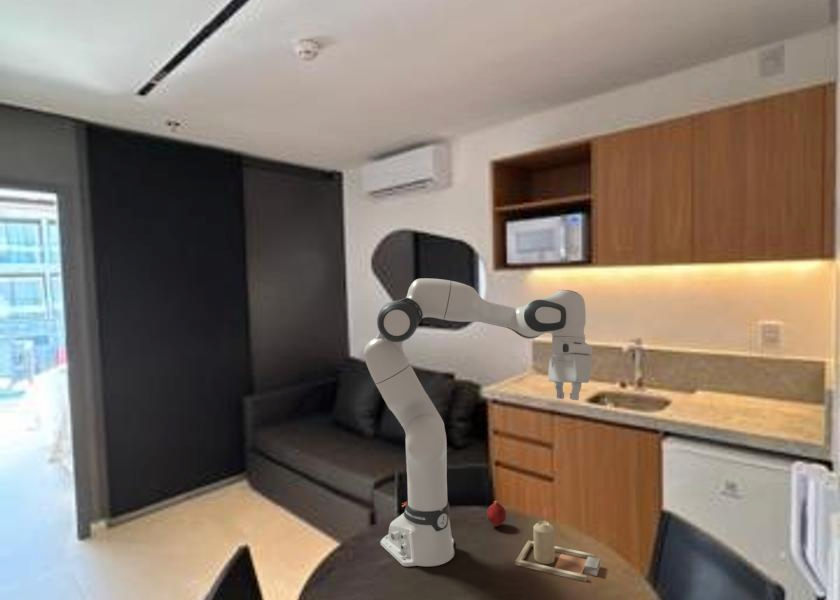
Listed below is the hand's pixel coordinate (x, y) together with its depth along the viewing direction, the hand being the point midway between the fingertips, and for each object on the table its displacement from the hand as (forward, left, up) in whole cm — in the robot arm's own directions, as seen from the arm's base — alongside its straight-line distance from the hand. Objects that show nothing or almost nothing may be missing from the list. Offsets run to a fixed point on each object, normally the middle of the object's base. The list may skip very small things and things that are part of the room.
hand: (566, 399), depth 139 cm
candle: (-4, -7, -43) cm, 44 cm away
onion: (-25, -1, -43) cm, 50 cm away
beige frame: (0, -6, -43) cm, 43 cm away
